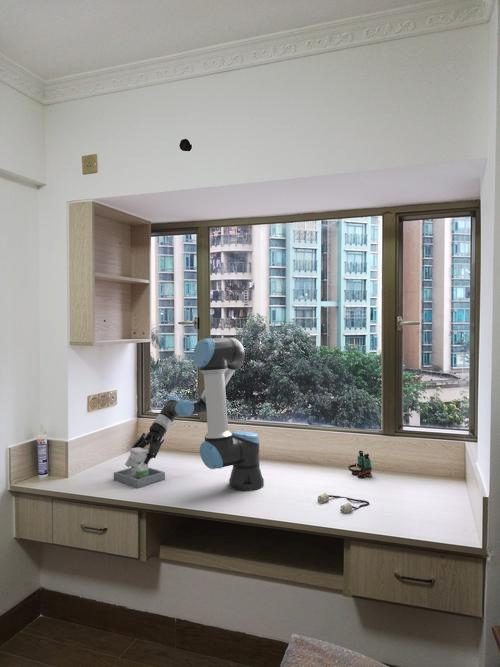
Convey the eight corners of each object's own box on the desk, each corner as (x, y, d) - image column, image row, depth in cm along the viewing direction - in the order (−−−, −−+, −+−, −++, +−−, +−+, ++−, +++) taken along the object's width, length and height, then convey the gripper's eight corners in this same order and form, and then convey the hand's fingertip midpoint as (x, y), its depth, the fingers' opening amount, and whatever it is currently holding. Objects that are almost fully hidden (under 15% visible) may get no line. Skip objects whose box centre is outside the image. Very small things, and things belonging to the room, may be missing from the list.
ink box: (149, 475, 236) (148, 449, 235) (139, 478, 233) (138, 451, 232) (140, 471, 243) (139, 446, 242) (130, 473, 239) (129, 448, 239)
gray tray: (164, 479, 237) (164, 472, 237) (137, 488, 226) (137, 480, 226) (140, 472, 249) (140, 465, 249) (113, 480, 238) (113, 472, 238)
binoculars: (344, 453, 240) (362, 449, 244) (346, 475, 241) (364, 471, 244) (355, 458, 232) (373, 453, 235) (357, 481, 232) (376, 476, 236)
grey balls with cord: (343, 494, 215) (343, 486, 215) (373, 506, 202) (373, 497, 202) (315, 502, 207) (315, 494, 207) (344, 515, 193) (344, 506, 193)
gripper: (179, 434, 241) (153, 476, 230) (150, 427, 256) (124, 467, 244) (170, 424, 237) (143, 467, 226) (141, 418, 251) (114, 459, 240)
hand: (133, 467), depth 235 cm, fingers closed on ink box, 9 cm apart
